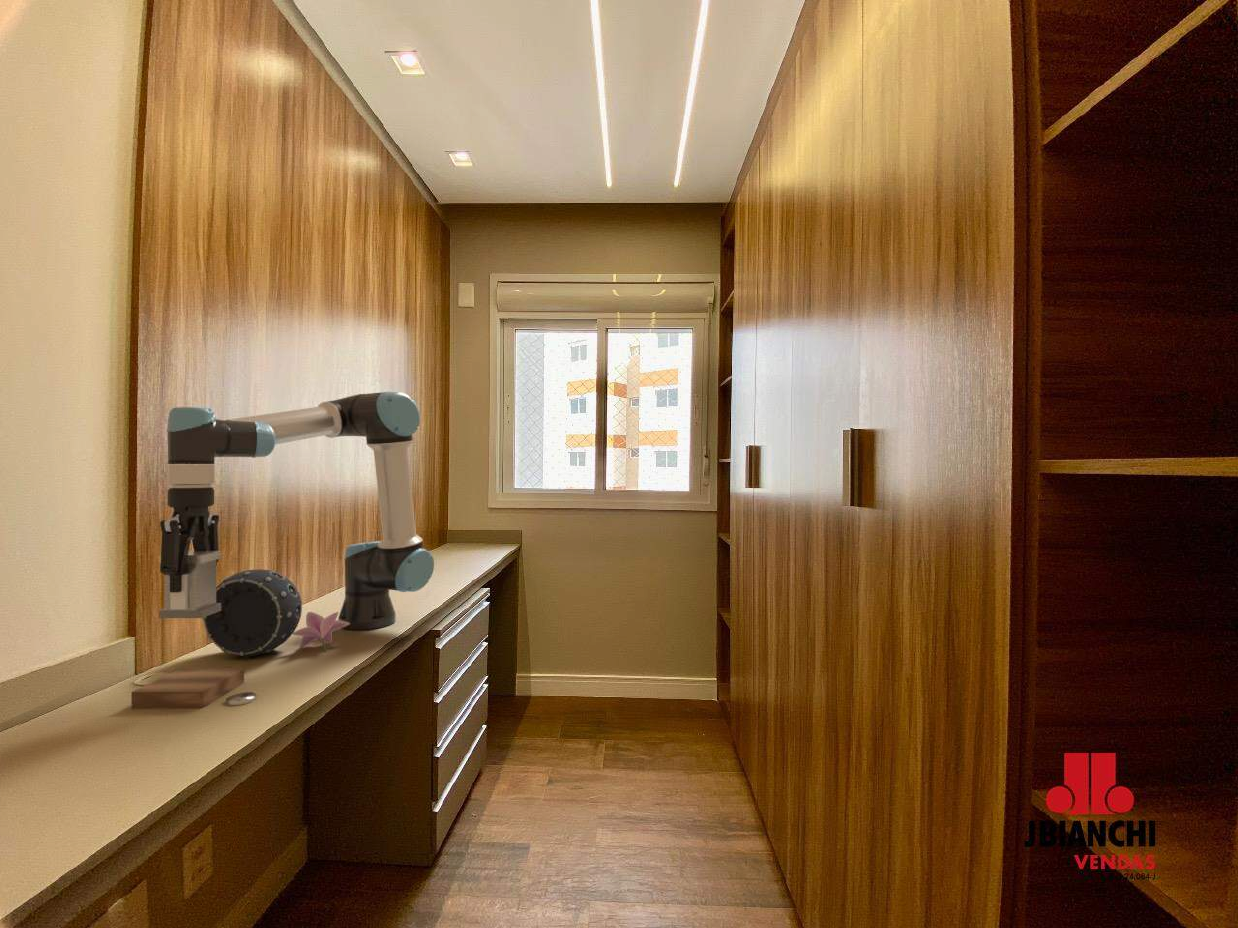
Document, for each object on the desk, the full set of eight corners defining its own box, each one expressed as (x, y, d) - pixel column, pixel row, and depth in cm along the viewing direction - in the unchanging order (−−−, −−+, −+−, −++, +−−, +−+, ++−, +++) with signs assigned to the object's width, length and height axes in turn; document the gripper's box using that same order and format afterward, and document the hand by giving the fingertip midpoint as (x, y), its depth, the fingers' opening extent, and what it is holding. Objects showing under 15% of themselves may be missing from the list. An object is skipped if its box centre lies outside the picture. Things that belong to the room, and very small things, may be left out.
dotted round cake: (285, 660, 141) (285, 573, 141) (196, 661, 140) (196, 574, 140) (307, 646, 151) (307, 566, 152) (225, 647, 151) (225, 566, 151)
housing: (180, 610, 123) (180, 550, 123) (221, 610, 123) (221, 550, 123) (158, 618, 117) (159, 555, 117) (201, 618, 117) (201, 555, 117)
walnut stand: (180, 683, 126) (180, 668, 126) (244, 682, 127) (244, 668, 127) (131, 708, 113) (131, 692, 113) (202, 707, 114) (202, 691, 114)
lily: (357, 646, 155) (348, 611, 158) (343, 641, 145) (334, 602, 148) (308, 665, 152) (300, 628, 155) (290, 660, 142) (282, 621, 145)
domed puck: (235, 697, 120) (235, 692, 120) (261, 697, 120) (261, 691, 120) (220, 707, 115) (220, 702, 115) (247, 707, 115) (247, 701, 115)
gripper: (203, 485, 129) (203, 594, 129) (134, 488, 110) (134, 616, 110) (239, 485, 130) (239, 594, 129) (176, 488, 111) (176, 616, 110)
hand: (190, 604), depth 120 cm, fingers closed on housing, 6 cm apart
